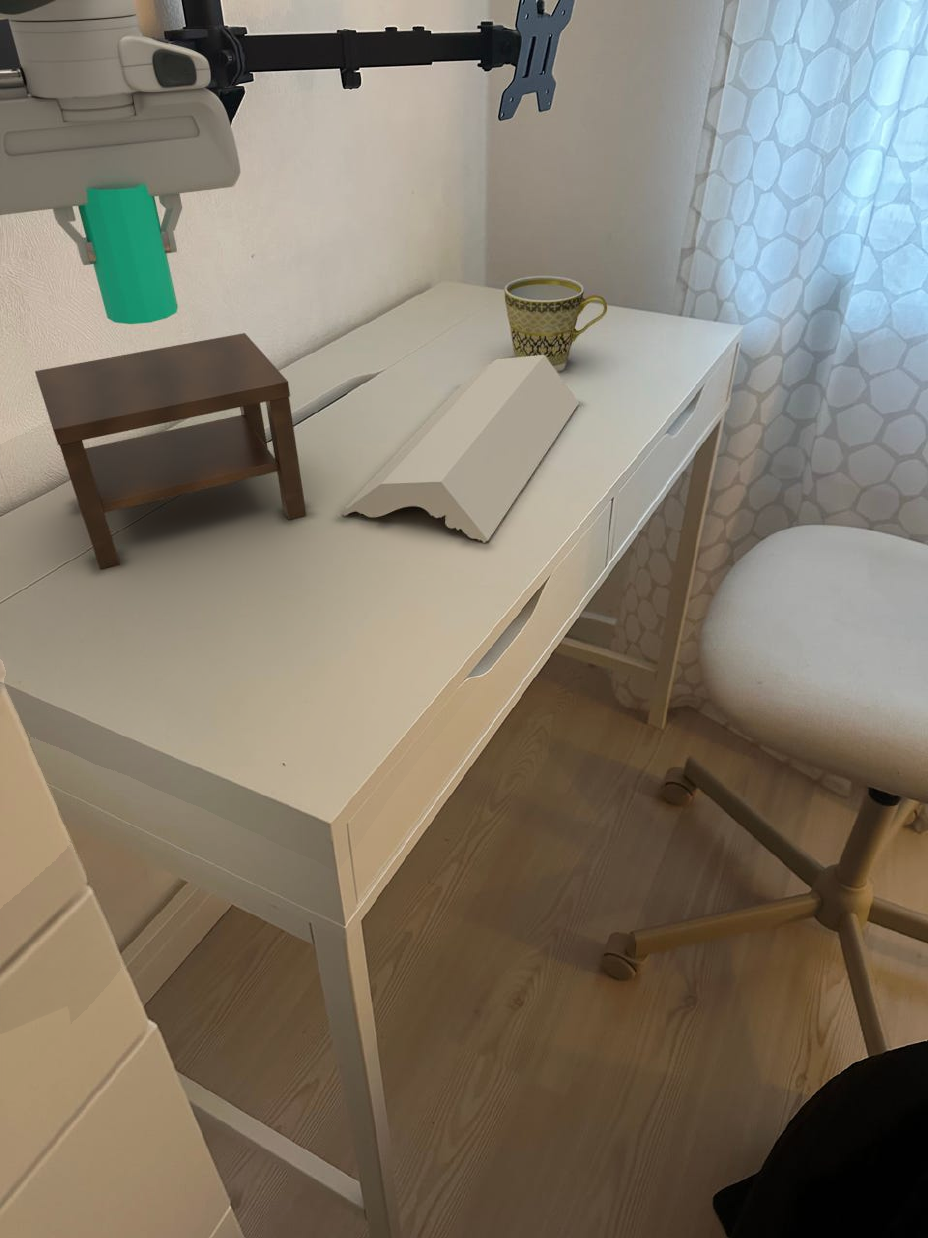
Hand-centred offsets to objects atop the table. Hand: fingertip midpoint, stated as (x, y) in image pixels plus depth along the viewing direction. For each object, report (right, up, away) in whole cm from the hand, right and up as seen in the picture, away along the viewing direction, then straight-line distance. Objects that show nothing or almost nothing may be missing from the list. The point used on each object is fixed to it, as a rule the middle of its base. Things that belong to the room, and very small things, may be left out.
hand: (130, 257), depth 75 cm
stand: (0, -19, +15) cm, 24 cm away
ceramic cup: (+40, +3, +43) cm, 58 cm away
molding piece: (+29, -13, +23) cm, 39 cm away
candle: (0, -4, +3) cm, 5 cm away
